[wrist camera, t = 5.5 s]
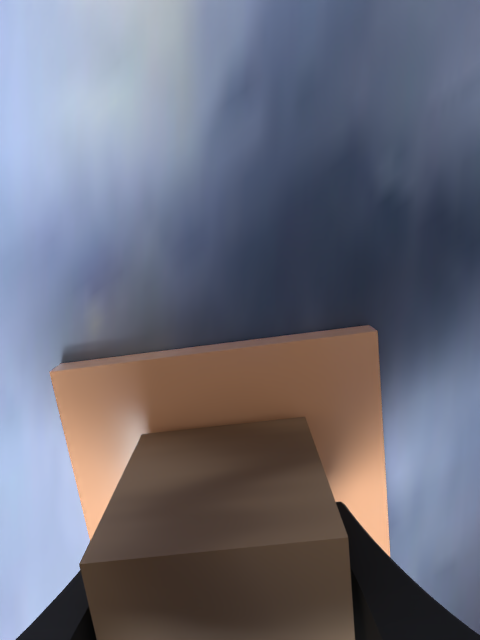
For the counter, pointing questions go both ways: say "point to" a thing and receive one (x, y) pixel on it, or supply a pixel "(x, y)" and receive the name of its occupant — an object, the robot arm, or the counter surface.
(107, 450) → the plate
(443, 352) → the counter surface
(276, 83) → the counter surface
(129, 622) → the cube
